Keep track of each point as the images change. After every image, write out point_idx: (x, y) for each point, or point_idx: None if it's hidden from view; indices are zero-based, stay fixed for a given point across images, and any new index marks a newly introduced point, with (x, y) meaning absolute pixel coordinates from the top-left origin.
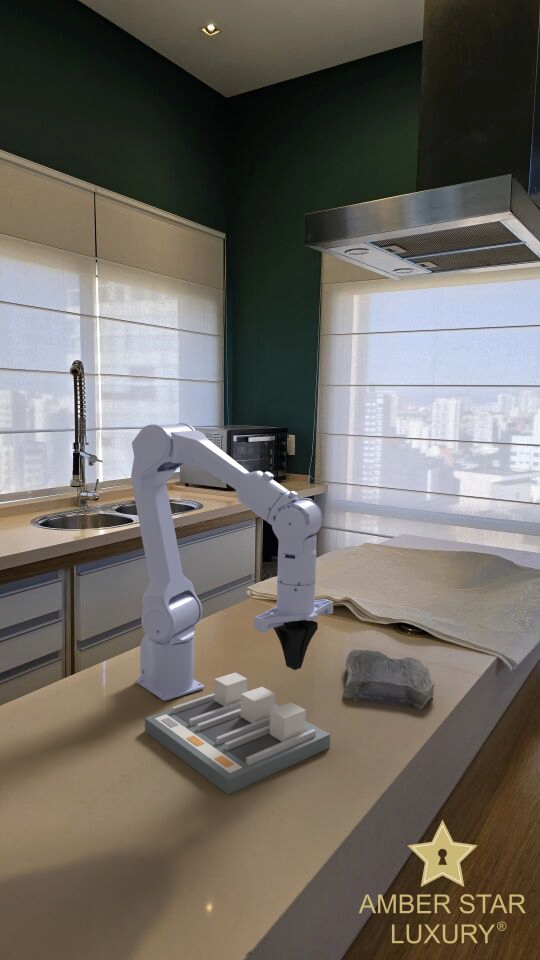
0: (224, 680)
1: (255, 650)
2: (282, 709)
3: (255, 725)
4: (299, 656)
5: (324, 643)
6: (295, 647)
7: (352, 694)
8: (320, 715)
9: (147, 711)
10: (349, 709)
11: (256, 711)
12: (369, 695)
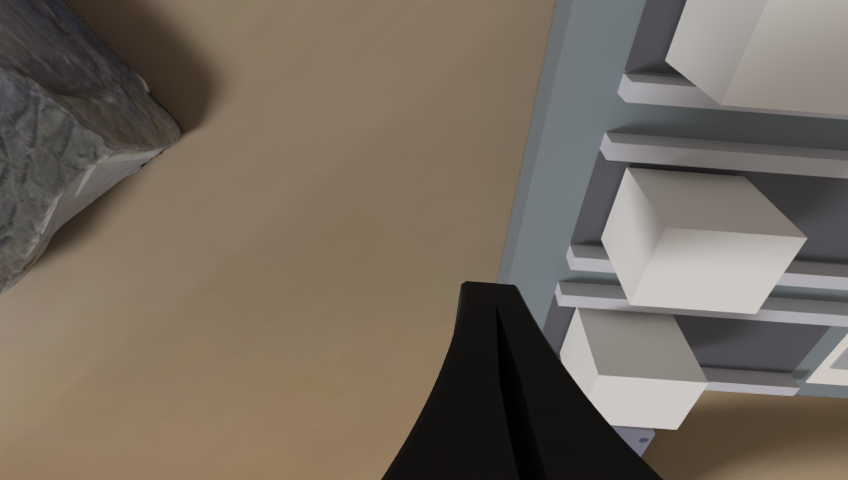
0: (668, 408)
1: (243, 463)
2: (845, 76)
3: (787, 153)
4: (514, 340)
5: (11, 402)
6: (599, 414)
7: (141, 107)
8: (372, 97)
9: (720, 416)
10: (224, 45)
11: (757, 204)
12: (68, 37)
